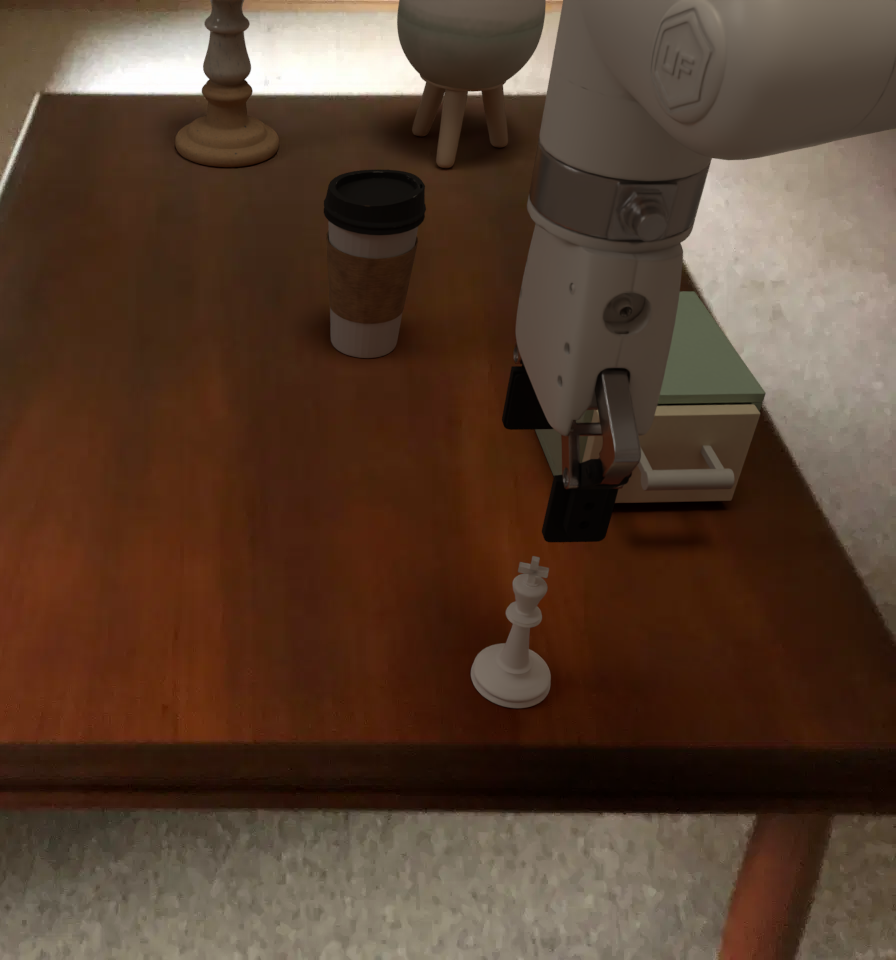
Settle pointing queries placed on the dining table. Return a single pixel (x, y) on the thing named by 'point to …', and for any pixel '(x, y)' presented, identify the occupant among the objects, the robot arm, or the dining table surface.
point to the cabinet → (686, 373)
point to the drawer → (688, 453)
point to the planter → (466, 59)
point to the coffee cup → (371, 256)
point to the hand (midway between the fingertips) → (549, 479)
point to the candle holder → (227, 99)
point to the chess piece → (516, 648)
